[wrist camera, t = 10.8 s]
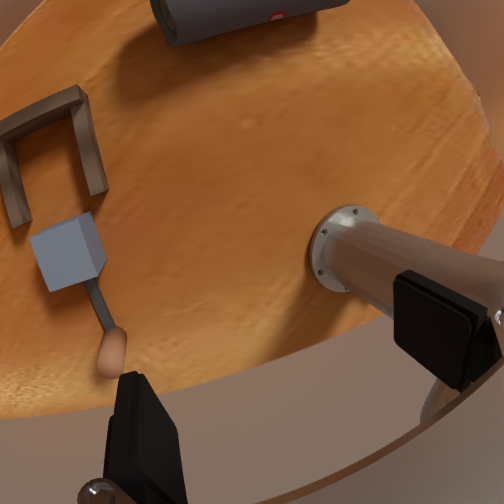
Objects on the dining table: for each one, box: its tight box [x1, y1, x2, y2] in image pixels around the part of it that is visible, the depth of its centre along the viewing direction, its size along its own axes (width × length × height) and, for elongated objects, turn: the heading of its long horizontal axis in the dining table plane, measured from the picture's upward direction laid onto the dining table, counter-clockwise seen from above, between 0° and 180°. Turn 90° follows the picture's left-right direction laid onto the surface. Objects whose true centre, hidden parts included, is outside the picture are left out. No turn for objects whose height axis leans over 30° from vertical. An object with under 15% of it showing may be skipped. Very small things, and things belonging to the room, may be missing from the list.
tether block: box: [29, 211, 127, 379], centre depth 30 cm, size 18×6×7 cm, turn 13°
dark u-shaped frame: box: [0, 85, 109, 229], centre depth 25 cm, size 12×12×5 cm
